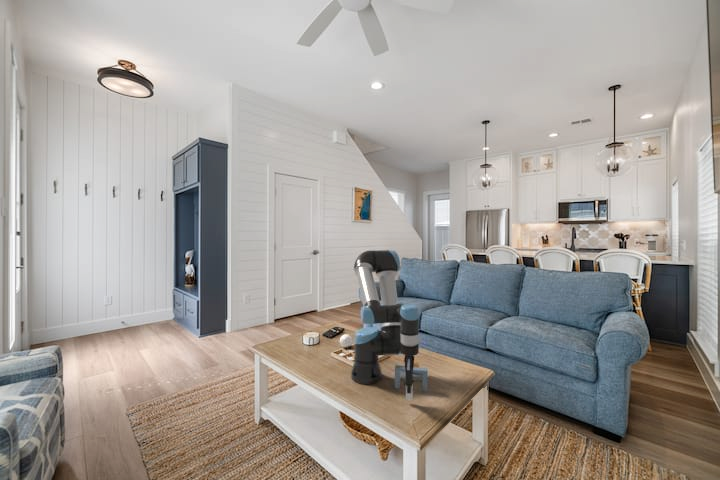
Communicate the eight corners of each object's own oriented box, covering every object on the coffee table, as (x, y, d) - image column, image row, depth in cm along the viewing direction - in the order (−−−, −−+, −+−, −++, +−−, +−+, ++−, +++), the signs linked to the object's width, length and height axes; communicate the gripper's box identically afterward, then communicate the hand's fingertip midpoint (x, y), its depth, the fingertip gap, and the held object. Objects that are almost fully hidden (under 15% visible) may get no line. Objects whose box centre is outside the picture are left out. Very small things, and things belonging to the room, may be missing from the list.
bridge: (427, 391, 138) (427, 371, 138) (394, 387, 141) (394, 368, 141) (427, 388, 141) (427, 368, 141) (395, 384, 144) (395, 365, 144)
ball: (408, 371, 159) (407, 371, 154) (408, 360, 161) (407, 360, 156) (419, 373, 158) (418, 372, 153) (419, 361, 160) (418, 361, 155)
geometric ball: (342, 351, 190) (335, 341, 190) (349, 343, 196) (342, 333, 196) (350, 348, 185) (342, 338, 185) (357, 340, 191) (349, 330, 191)
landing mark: (398, 378, 150) (398, 378, 150) (400, 366, 162) (400, 366, 162) (425, 381, 147) (425, 381, 147) (426, 369, 160) (426, 369, 160)
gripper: (418, 350, 120) (417, 409, 121) (419, 338, 133) (418, 392, 134) (398, 348, 122) (398, 407, 123) (401, 337, 135) (401, 390, 135)
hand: (409, 399), depth 128 cm, fingers closed
